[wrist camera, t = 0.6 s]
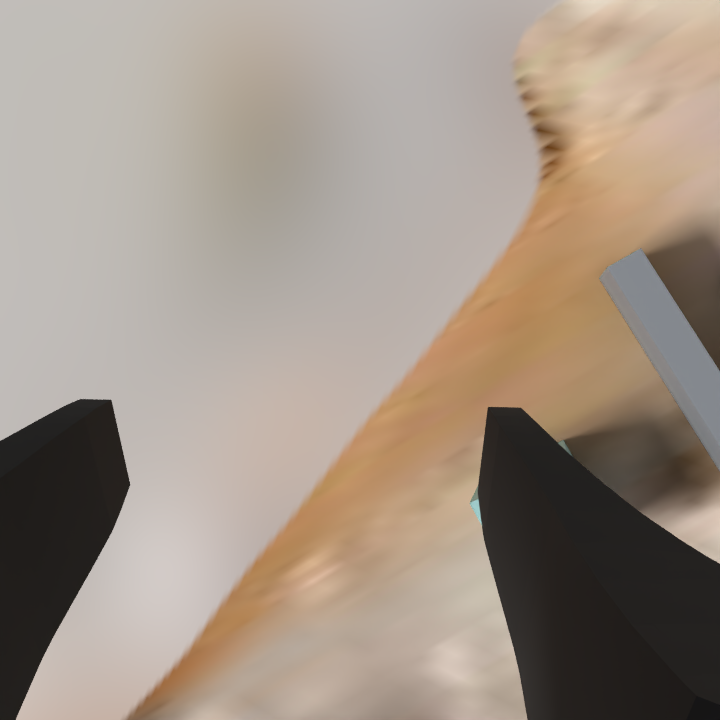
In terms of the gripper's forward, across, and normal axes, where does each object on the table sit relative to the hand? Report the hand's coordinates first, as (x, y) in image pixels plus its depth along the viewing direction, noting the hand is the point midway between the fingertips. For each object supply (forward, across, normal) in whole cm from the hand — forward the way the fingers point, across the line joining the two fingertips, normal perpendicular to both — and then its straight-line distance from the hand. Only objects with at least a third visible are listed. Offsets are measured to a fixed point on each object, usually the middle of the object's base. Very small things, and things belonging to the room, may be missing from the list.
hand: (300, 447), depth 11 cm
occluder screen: (+16, -18, +9) cm, 26 cm away
